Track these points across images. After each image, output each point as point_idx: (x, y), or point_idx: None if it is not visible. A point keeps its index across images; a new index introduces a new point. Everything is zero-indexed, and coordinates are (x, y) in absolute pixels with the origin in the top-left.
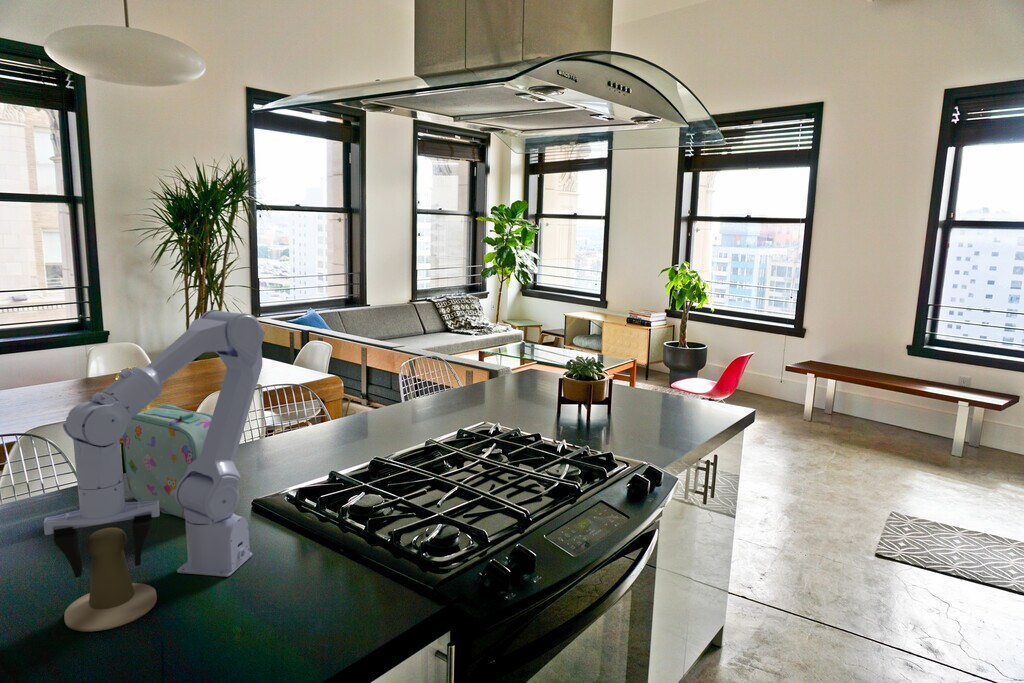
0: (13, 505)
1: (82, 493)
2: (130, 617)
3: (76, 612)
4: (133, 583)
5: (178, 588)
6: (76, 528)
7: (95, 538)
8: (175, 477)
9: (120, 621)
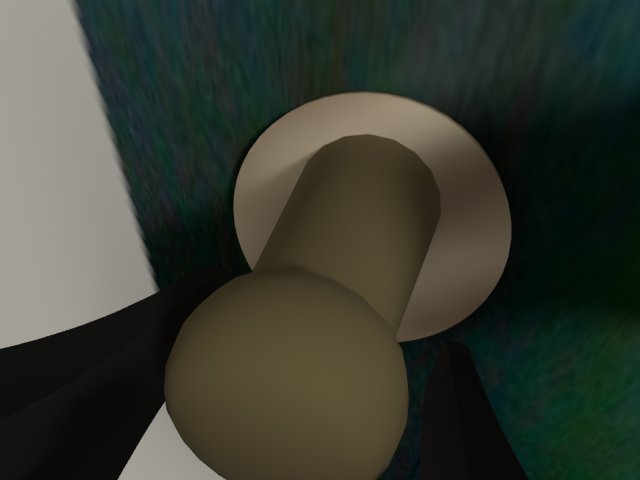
0: None
1: None
2: None
3: (263, 222)
4: (461, 136)
5: (598, 248)
6: (31, 468)
7: (202, 460)
8: None
9: None
